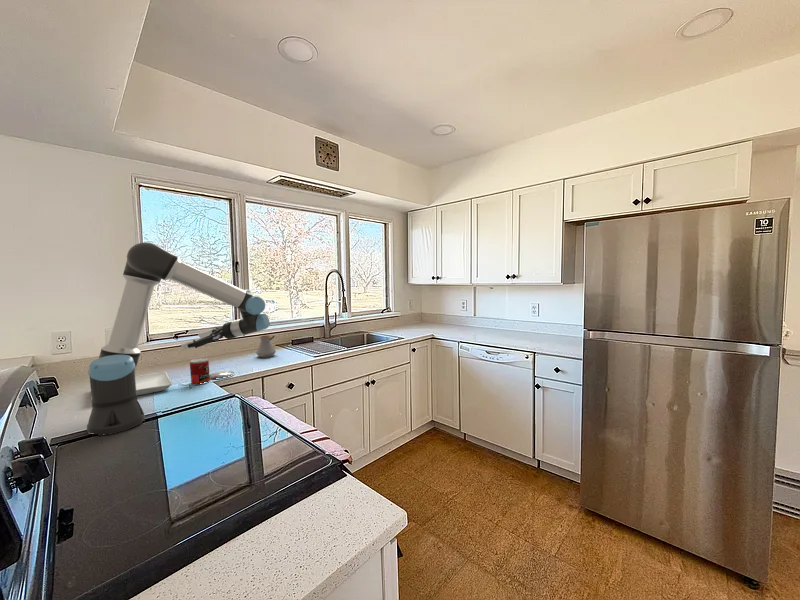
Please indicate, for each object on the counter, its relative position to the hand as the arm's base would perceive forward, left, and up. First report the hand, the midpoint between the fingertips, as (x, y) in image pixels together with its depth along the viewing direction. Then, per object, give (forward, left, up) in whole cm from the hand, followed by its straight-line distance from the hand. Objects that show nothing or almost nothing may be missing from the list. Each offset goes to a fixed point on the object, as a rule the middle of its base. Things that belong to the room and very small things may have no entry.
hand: (191, 341), depth 155 cm
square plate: (-9, +24, -22) cm, 34 cm away
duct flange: (+17, 0, -21) cm, 27 cm away
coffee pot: (+56, -1, -21) cm, 60 cm away
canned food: (+6, +2, -21) cm, 22 cm away
